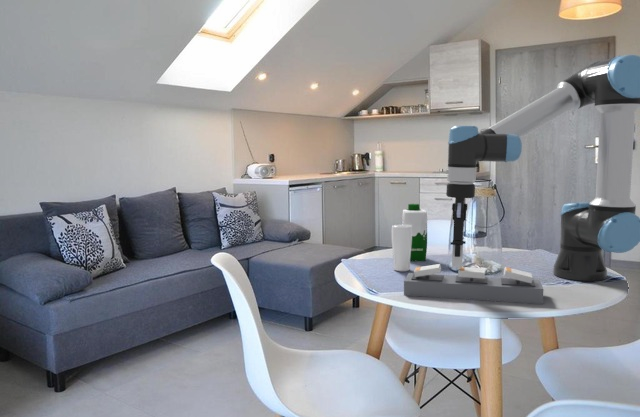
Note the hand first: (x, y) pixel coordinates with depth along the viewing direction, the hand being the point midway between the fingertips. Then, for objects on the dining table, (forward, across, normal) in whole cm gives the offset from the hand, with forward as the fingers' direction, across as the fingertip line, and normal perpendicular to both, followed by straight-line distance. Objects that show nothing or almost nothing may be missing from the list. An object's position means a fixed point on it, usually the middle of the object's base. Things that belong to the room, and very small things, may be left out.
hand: (456, 267), depth 149 cm
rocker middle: (+1, 0, +4) cm, 4 cm away
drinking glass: (+8, -25, -19) cm, 32 cm away
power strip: (+7, 0, +4) cm, 9 cm away
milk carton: (+8, -43, -17) cm, 47 cm away
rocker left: (+2, 0, -8) cm, 8 cm away
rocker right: (+1, 0, +16) cm, 16 cm away
